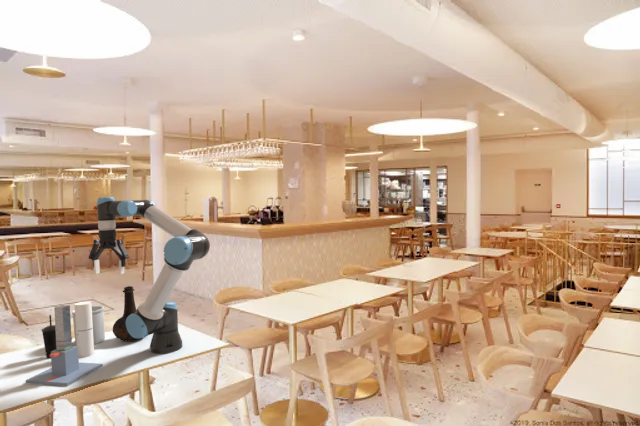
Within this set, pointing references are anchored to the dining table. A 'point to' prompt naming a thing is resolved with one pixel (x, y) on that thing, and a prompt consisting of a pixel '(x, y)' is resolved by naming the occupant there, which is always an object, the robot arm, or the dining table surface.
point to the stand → (64, 369)
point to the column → (63, 328)
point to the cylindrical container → (84, 328)
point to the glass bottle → (125, 316)
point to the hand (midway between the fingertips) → (109, 273)
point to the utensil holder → (95, 324)
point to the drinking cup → (49, 338)
